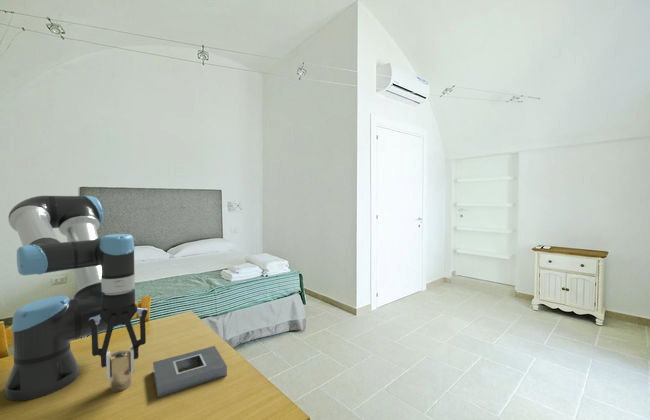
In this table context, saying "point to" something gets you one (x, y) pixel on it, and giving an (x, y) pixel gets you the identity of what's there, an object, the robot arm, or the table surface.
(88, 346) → the table surface
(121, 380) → the brass domed cylinder
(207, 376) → the plate
